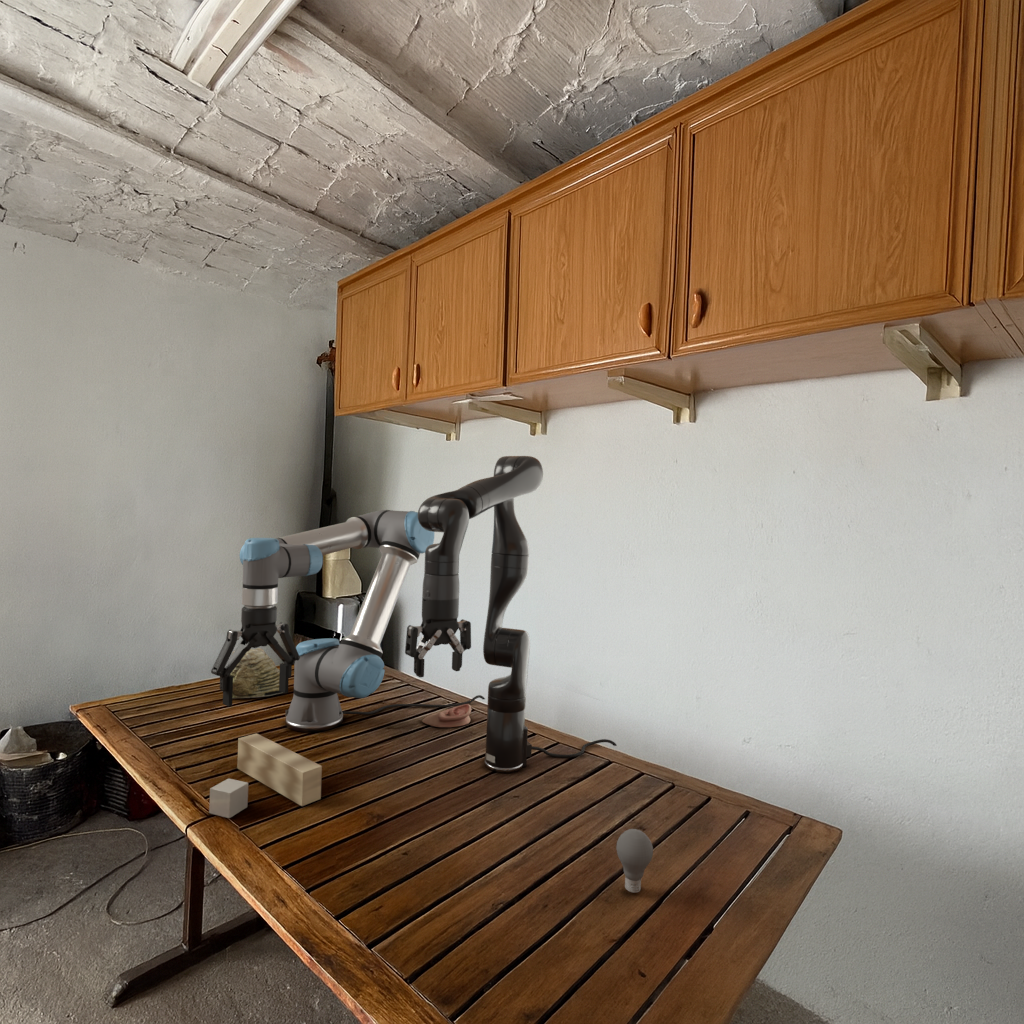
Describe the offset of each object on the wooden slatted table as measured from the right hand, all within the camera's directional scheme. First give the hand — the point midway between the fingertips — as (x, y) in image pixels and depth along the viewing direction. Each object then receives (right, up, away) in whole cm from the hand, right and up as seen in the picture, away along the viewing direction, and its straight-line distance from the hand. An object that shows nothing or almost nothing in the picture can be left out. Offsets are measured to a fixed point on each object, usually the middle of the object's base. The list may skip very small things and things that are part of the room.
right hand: (438, 673), depth 131 cm
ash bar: (-36, -26, +9) cm, 46 cm away
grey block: (-41, -26, -4) cm, 49 cm away
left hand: (-43, -9, +14) cm, 46 cm away
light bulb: (+35, -30, -25) cm, 53 cm away
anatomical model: (-4, -27, +51) cm, 58 cm away
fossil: (-65, -24, +68) cm, 97 cm away
